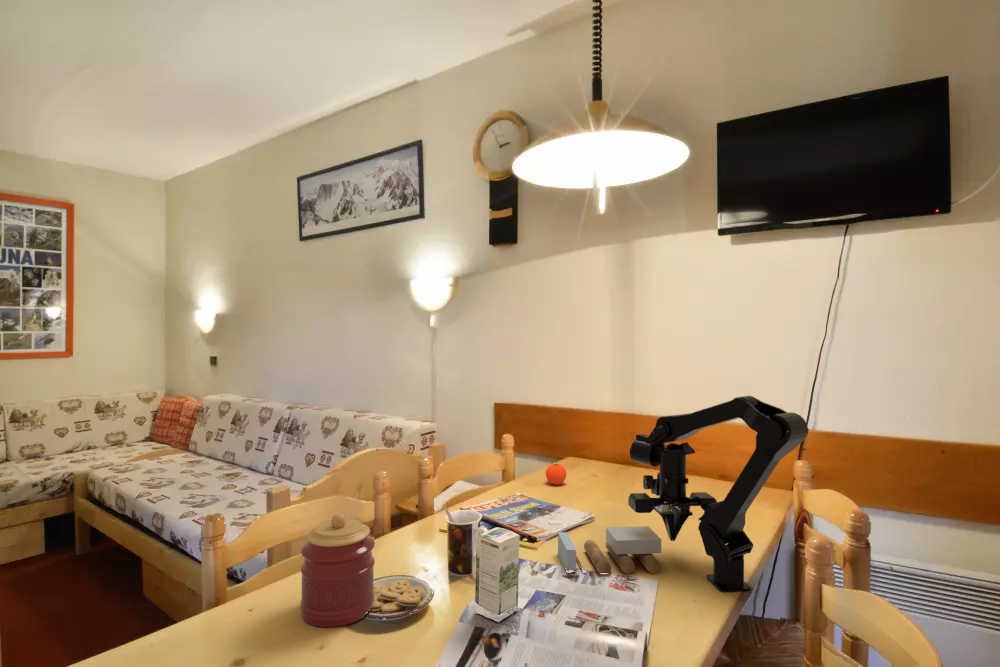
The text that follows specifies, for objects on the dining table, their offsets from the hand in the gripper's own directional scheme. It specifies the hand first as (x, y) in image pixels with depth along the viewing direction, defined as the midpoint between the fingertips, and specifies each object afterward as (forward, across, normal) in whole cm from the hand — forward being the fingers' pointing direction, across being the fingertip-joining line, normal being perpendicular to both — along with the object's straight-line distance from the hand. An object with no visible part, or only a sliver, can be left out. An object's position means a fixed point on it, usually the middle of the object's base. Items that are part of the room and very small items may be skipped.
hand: (672, 540), depth 122 cm
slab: (+1, +9, 0) cm, 9 cm away
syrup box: (+5, +41, +20) cm, 46 cm away
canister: (+5, +70, +17) cm, 72 cm away
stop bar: (+4, +24, 0) cm, 25 cm away
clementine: (+5, +15, -62) cm, 64 cm away
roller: (+4, +18, 0) cm, 19 cm away
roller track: (+5, +13, 0) cm, 14 cm away
